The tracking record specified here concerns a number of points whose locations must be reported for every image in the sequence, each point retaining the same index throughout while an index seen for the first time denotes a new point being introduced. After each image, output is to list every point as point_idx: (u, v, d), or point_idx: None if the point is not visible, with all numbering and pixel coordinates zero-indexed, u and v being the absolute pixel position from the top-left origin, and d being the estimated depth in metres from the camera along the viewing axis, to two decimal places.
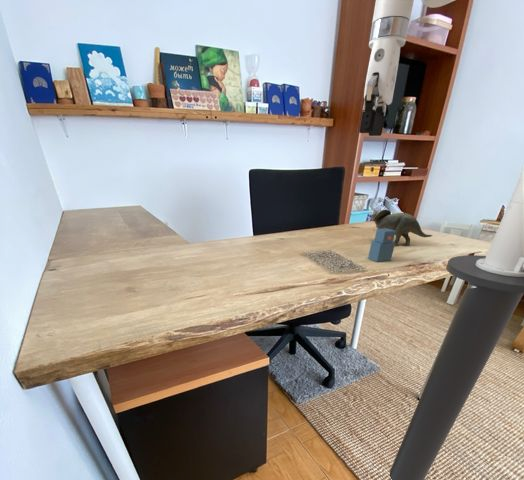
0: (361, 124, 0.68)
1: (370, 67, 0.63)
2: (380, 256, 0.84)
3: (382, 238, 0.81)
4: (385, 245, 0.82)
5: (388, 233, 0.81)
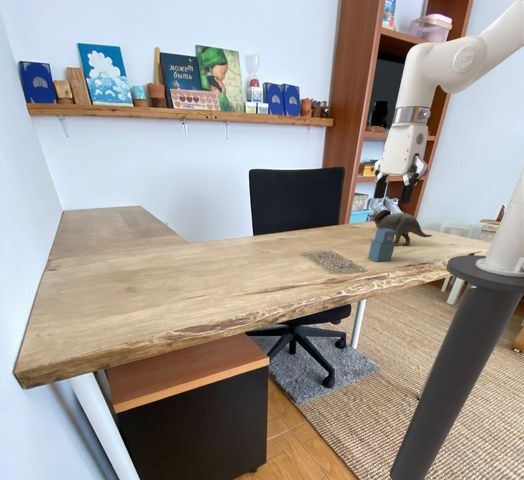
0: (401, 196, 0.73)
1: (412, 148, 0.68)
2: (380, 256, 0.84)
3: (382, 238, 0.81)
4: (385, 245, 0.82)
5: (388, 233, 0.81)
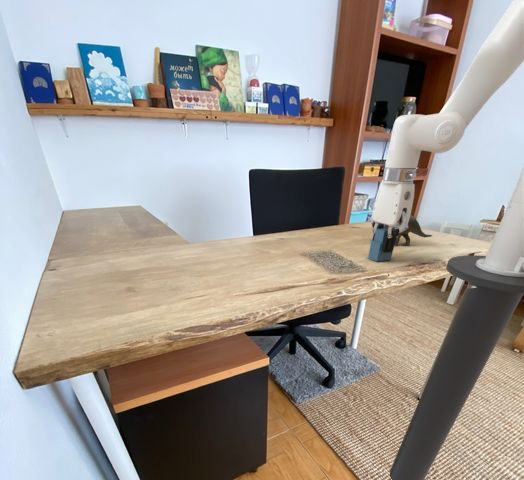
0: (385, 246, 0.81)
1: (401, 203, 0.74)
2: (380, 256, 0.83)
3: (381, 238, 0.82)
4: None
5: None
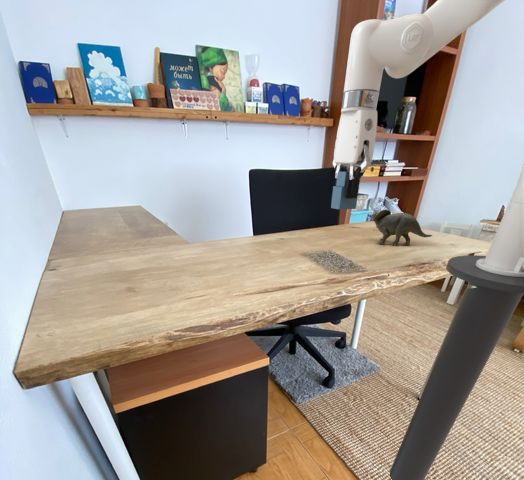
0: (348, 191, 0.71)
1: (361, 134, 0.64)
2: (343, 203, 0.73)
3: (343, 181, 0.71)
4: None
5: None
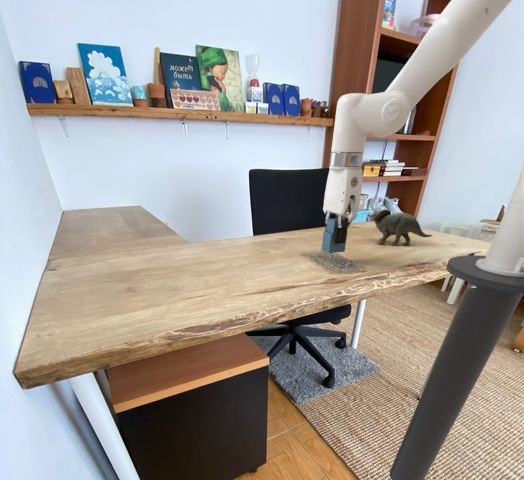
0: (336, 237, 0.77)
1: (348, 190, 0.69)
2: (332, 247, 0.79)
3: (332, 228, 0.77)
4: None
5: None
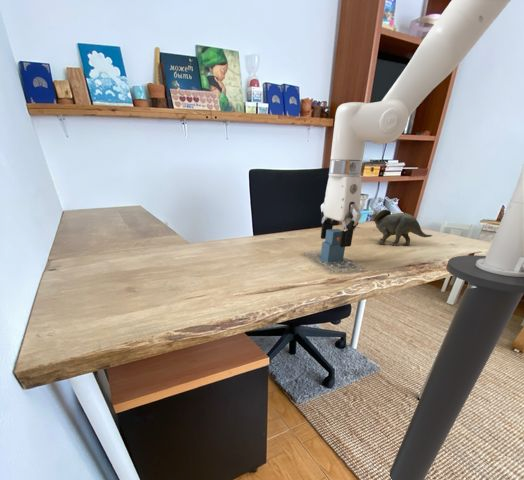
0: (342, 240, 0.75)
1: (347, 197, 0.70)
2: (330, 258, 0.81)
3: (331, 239, 0.78)
4: (335, 246, 0.79)
5: (337, 233, 0.78)
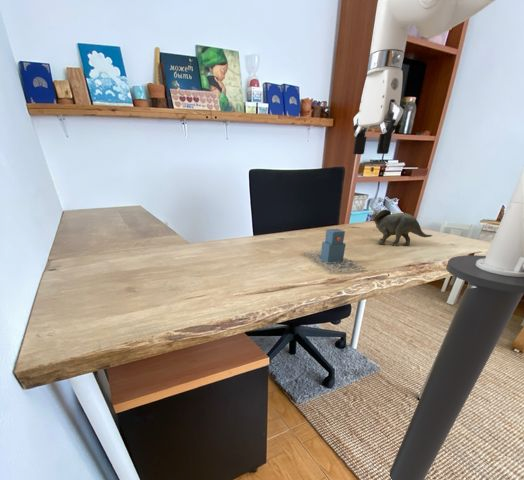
0: (380, 145, 0.72)
1: (388, 93, 0.67)
2: (330, 258, 0.81)
3: (331, 239, 0.78)
4: (335, 246, 0.79)
5: (337, 233, 0.78)
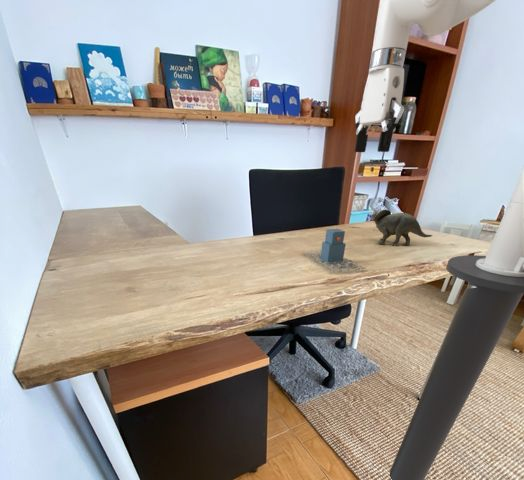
0: (380, 143, 0.73)
1: (389, 91, 0.68)
2: (330, 258, 0.81)
3: (331, 239, 0.78)
4: (335, 246, 0.79)
5: (337, 233, 0.78)
